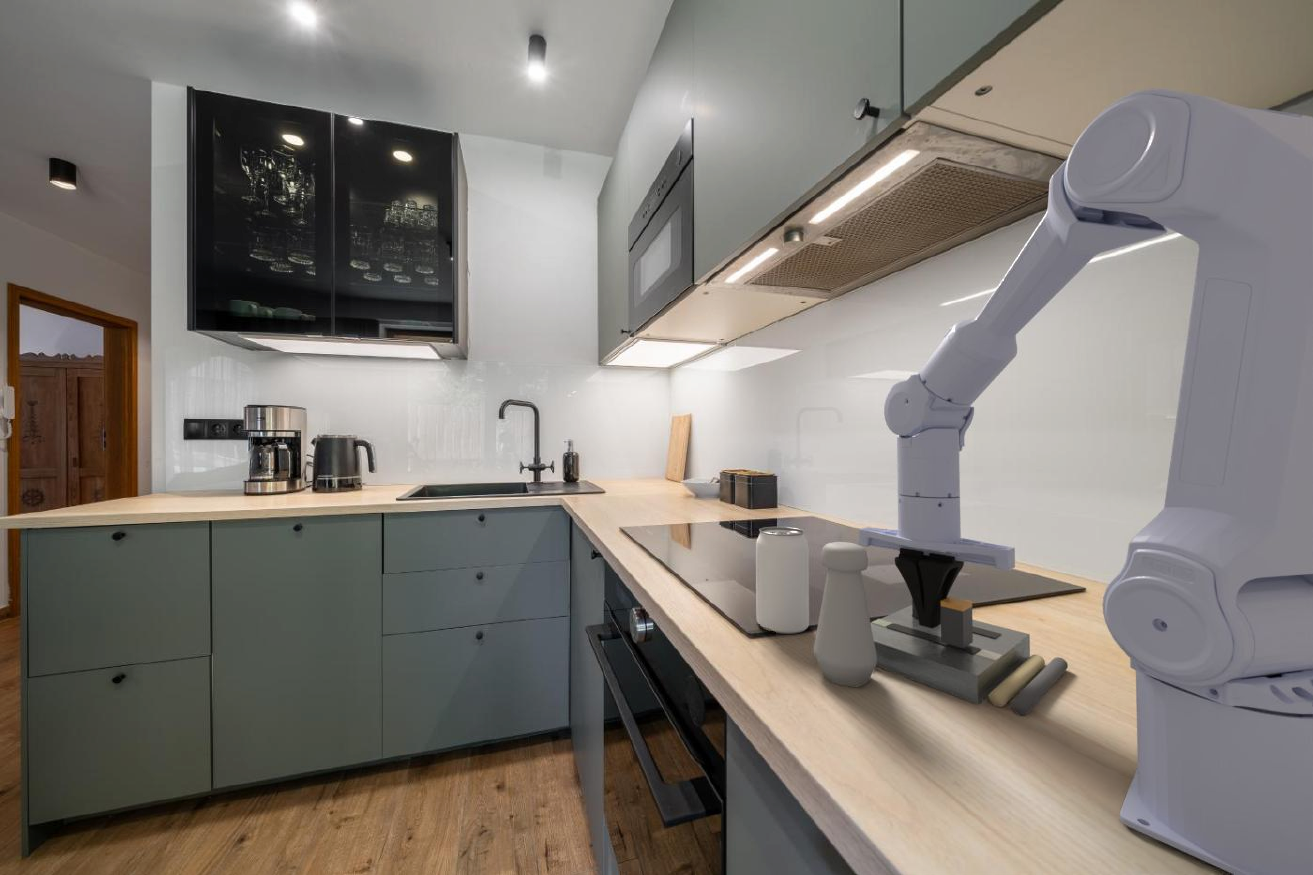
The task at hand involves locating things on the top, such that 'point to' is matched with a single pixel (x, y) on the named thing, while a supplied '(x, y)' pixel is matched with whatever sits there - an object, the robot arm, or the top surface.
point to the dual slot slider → (948, 655)
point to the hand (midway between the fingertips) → (929, 624)
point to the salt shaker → (845, 618)
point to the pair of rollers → (1033, 689)
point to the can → (782, 580)
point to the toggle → (956, 622)
